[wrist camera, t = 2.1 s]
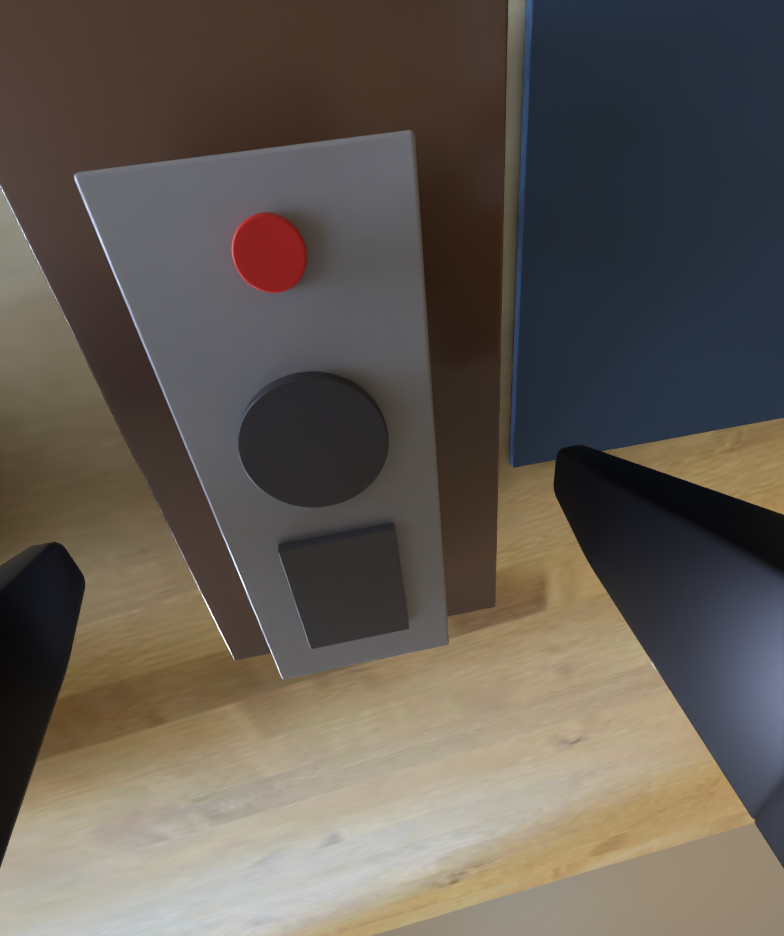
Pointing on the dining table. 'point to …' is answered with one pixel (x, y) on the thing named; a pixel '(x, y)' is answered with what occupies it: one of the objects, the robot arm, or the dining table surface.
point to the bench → (257, 127)
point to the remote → (296, 378)
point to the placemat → (648, 223)
